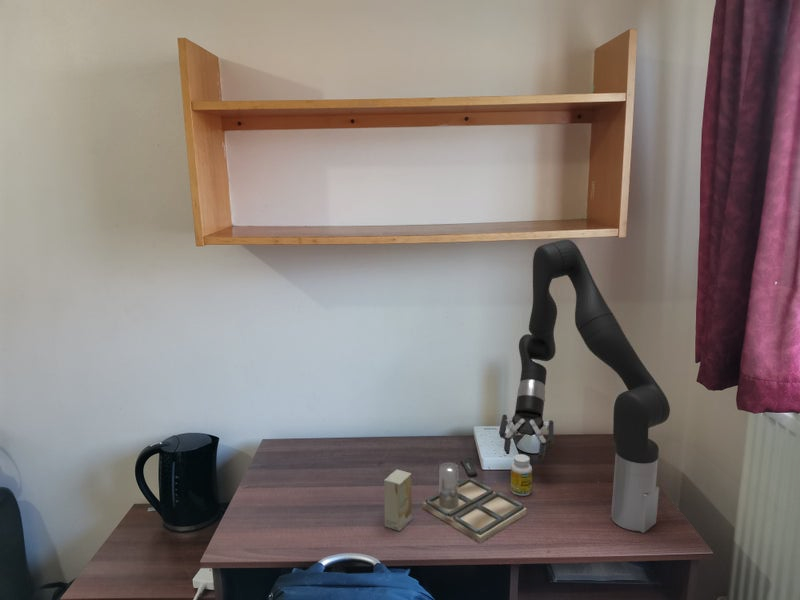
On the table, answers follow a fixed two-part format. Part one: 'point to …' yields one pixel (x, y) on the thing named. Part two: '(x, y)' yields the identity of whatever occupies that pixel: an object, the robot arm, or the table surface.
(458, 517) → the wooden compartment tray
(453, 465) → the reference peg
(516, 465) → the supplement bottle
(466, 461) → the usb stick
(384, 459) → the table surface
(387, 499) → the skincare box
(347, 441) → the table surface
